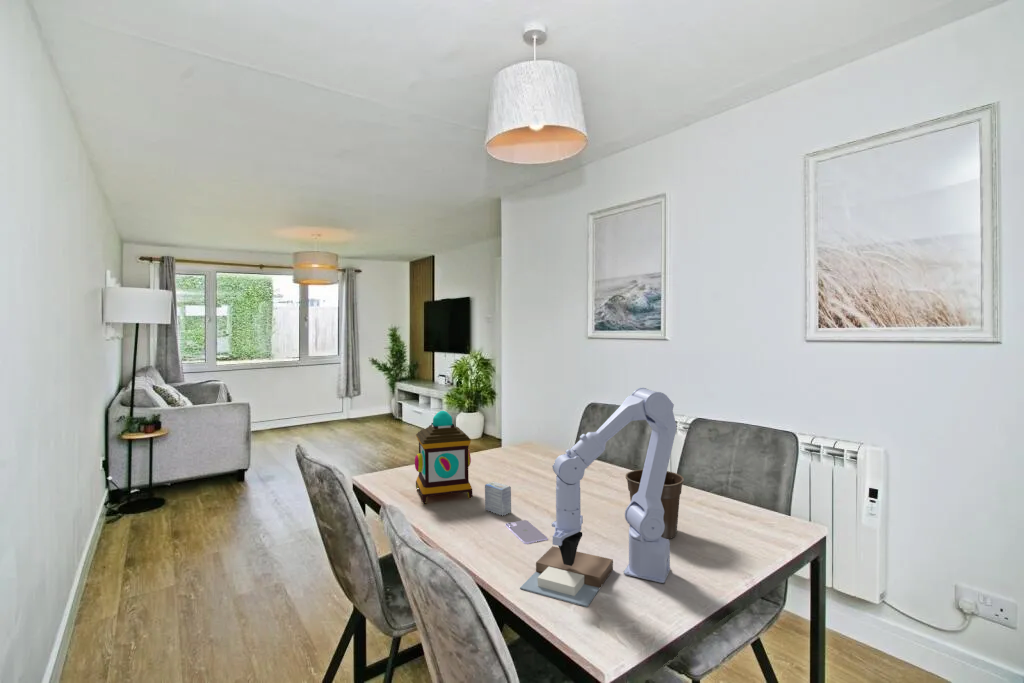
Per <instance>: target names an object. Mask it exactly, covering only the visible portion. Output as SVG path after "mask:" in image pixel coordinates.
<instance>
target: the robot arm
mask: <svg viewBox="0 0 1024 683" xmlns="http://www.w3.org/2000/svg"><path fill="white" fill-rule="evenodd" d="M674 406H675V404H674V403H673V401H672V400H670V398H669V396H668V395H667V394H665V393H664V392H660V391H656V390H655V391H654V390H651V389H649V388H647V387H639V388H636V389H635V390H633V392H632V393H631V394H629V395H628V396H626V397H625V399H624V401H623V402H622V403H621V405H620V406H619V407H618V408H617V409H616V410H615V411H614V412H613V413H612V414H611V415H610V416H609V417H608V418H607V419H606V420H605V422H603V423H602V425H601V426H599V428H598V429H597V430H596V431H587V433H586V434H585V433H582V434H581V435H580V436H579V440H578V441H577V442H576V443H575V444H574V445H573V446H572V447H571V448H570V449H569V448H567V449H566V450H565V451H564V452H565V453H564V454H560V455H558V456H557V457H555V458H556V459H554V463H553V464H552V466H551V467H552V470H553V473H554V474H555V475H556V476H555V479H556V480H555V520H554V521H553V522H552V523H551V527H553V528H554V533H553V535H552V538H551V539H552V546H557V547H558V548H559V549H560V552H561V555H562V560H563V563H564V564H565V565H569V566H572V565H573V564H574V560H575V556H576V551H577V552H578V547H579V544H580V540H581V538H582V537H583V532H582V531H581V530H582V524H583V523H584V521H583V520H584V515H582V514H581V511H582V510H581V481H582V480H583V479H584V478H583V477H584V476H585V471H586V469H587V468H588V467H589V466H590V465H592V463H593V462H595V460H597V459H598V458H599V457H600V456H601V455H602V454H603V453H604V452H605V451H606V447H607V446H606V445H607V442H608V441H609V440H610V439H612V438H613V437H614V436H615V435H616V434H618V433H619V432H620V431H621V430H623V428H625V427H626V426H627V425H629V423H631V422H633V421H635V422H636V421H646V423H647V424H648V425H649V427H650V428H651V433H650V438H649V442H648V446H647V451H646V456H645V461H644V465H643V468H642V469H643V472H642V477H641V481H640V486H639V490H638V492H637V493H636V494H634V495H633V496H632V500H630V502H629V504H628V505H627V507H626V508H625V510H624V519H625V521H626V523H627V524H628V525H629V526H628V527H629V528H628V565H626V568H625V570H624V571H623V575H625V576H630V577H634V578H635V577H636V578H639V579H643V580H647V581H653V582H656V583H660V584H665V582H666V580H667V578H668V575H669V573H670V571H671V564H670V563H671V562H670V561H671V555H670V554H671V545H670V539H665V538H663V537H661V535H662V534H663V532H664V529H665V524H664V520H663V516H664V508H663V505H662V502H661V495H662V490H663V486H664V482H665V477H666V473H667V471H668V469H669V468H668V467H669V463H670V459H671V456H672V455H671V454H672V450H673V445H674V440H675V438H676V432H677V423H676V418H675V415H674V414H675V413H674Z"/></svg>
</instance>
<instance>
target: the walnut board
mask: <svg viewBox="0 0 1024 683" xmlns="http://www.w3.org/2000/svg"><path fill="white" fill-rule="evenodd" d="M613 563H614V560H613V559H612V558H608V557H603V556H599V555H594V554H589V553H585V552H581V551H578V550H577V551H576V556H575V560H574V564H573V565H572V566H569V565H565V564H564V563H563V560H562V555H561V552H560V549H559V546H555V545H552V546H551V547H550V548H549V549H548V550H547V551H546V552H545V553H544V554H543V555H542V556H541V557H540V558H539V559H538V560H537V561H536V562H535V572H538V573H543V572H544V571H545V570H546V569H547V568H548V566H549V567H553V568H557V569H561V570H565V571H569V572H573V573H577V574H581V575H584V584H586V585H590V586H594V587H598V588H600V589H601V588H602V586H603V585H604V583H605V581H606V580H607V579H608V577H609V576H610V575H611V573H612V572H613V570H614V564H613Z"/></svg>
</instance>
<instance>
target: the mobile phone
mask: <svg viewBox="0 0 1024 683" xmlns="http://www.w3.org/2000/svg"><path fill="white" fill-rule="evenodd" d="M504 527H506V528H507V529H508V530H509V531H510V532H511V533H512V534H513V535H514V536H515V537H516V538H517V539H518V540H519V541H520V542H521V541H522V542H523V543H522V542H521V543H522V544H524V545H529V543H530V544H534V542H535V543H540V542H539V541H541V542H545V541H544V540H546V541H548V537H547V536H546V535H545V534H544V533H543V532H542V531H540V530H539V529H538V528H537V527H536V526H535V525H533V524H532V523H531V522H530V521H529V520H526V519H523V520H517V521H511V522H507V523H505V524H504ZM536 541H538V542H536Z"/></svg>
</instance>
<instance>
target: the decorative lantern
mask: <svg viewBox="0 0 1024 683" xmlns="http://www.w3.org/2000/svg"><path fill="white" fill-rule="evenodd" d="M415 436H416V439H417V441H418V453H417V454H416V455H415V457H414V467H415V470H416V472H418V475H417V477H416V480H415V488H416V489H417V488H419V490H418V491H419V492H420V494H421V501H422V504H423V503H426V504H427V501H428V500H427V499H428V497H430V496H431V497H432V496H440V495H448V494H459V493H464V492H465V493H466V494H467V498H468V497H469V498H471V497H473V488H472V485H471V483H470V480H469V479H470V478H469V467H470V466H471V462H472V458H471V453H470V450H469V446H470V444H471V442H472V439H471V437H469V435H468V434H466V433H465V432H464V431H463V430H462V429H461V428H460V427H458V426H456V425H455V424H454V423H453V417H452V415H451V414H450V413H449V412H448V411H446V410H440V411H438V412H437V413H436V414H434V416H433V418H432V422H431V424H430V425H428V427H426V428H421V429H420V430H419V431H417V433H416V434H415ZM469 498H468V499H469ZM471 499H472V498H471Z"/></svg>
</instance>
